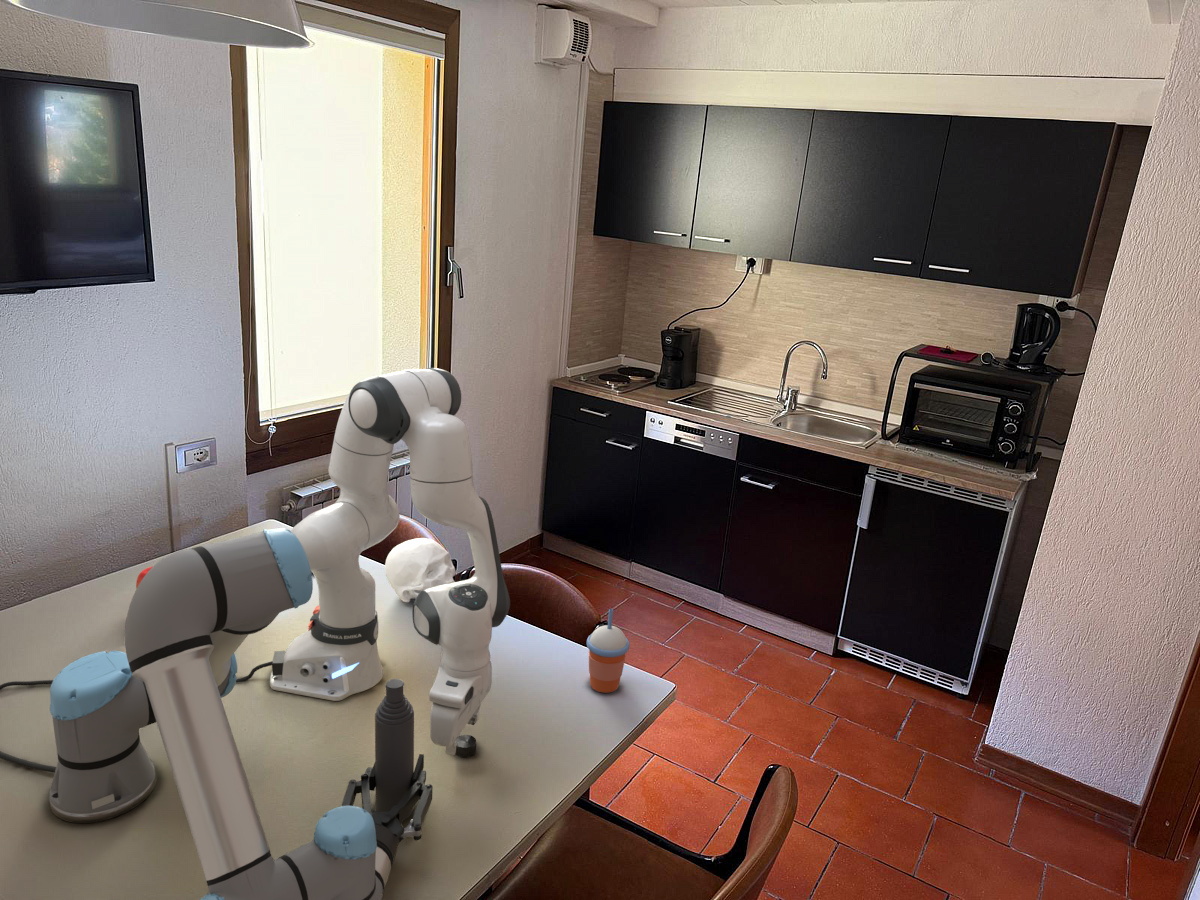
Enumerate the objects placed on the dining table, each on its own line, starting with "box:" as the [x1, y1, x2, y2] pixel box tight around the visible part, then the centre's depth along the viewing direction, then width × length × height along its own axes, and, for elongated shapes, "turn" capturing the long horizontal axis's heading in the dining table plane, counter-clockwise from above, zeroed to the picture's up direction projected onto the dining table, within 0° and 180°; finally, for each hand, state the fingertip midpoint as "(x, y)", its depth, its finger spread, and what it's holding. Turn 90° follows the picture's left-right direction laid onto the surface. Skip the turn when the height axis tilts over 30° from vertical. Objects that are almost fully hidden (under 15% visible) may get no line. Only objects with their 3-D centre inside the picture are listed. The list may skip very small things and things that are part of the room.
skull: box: [384, 537, 457, 603], centre depth 211 cm, size 13×22×16 cm, turn 67°
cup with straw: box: [586, 608, 630, 694], centre depth 181 cm, size 9×9×18 cm
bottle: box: [374, 678, 415, 821], centre depth 139 cm, size 6×6×24 cm
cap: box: [455, 734, 477, 758], centre depth 159 cm, size 4×4×2 cm
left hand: (401, 759), depth 146 cm, fingers closed on bottle, 6 cm apart
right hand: (462, 737), depth 158 cm, fingers open, 8 cm apart
